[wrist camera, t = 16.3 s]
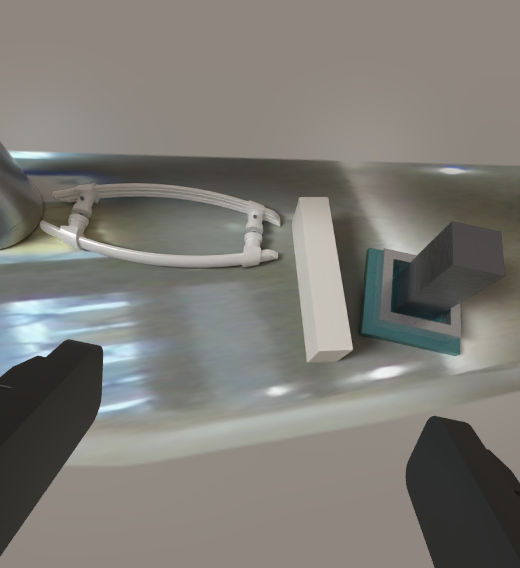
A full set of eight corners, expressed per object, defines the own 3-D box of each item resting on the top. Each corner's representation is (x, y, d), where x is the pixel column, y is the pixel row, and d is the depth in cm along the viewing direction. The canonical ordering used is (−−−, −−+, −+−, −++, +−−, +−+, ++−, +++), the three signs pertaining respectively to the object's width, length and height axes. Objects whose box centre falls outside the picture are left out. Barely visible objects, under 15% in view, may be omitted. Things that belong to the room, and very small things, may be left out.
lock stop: (392, 312, 37) (453, 264, 27) (394, 278, 39) (451, 221, 29) (430, 320, 37) (505, 275, 27) (430, 286, 39) (500, 231, 29)
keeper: (359, 334, 37) (368, 326, 34) (366, 251, 41) (375, 238, 38) (455, 355, 37) (471, 349, 34) (453, 270, 41) (468, 258, 38)
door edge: (337, 361, 36) (352, 349, 31) (307, 362, 35) (318, 351, 31) (317, 223, 42) (327, 197, 37) (291, 223, 42) (299, 197, 37)
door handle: (67, 183, 42) (280, 206, 43) (40, 258, 38) (276, 281, 39) (57, 167, 39) (283, 192, 40) (27, 245, 35) (279, 271, 36)
